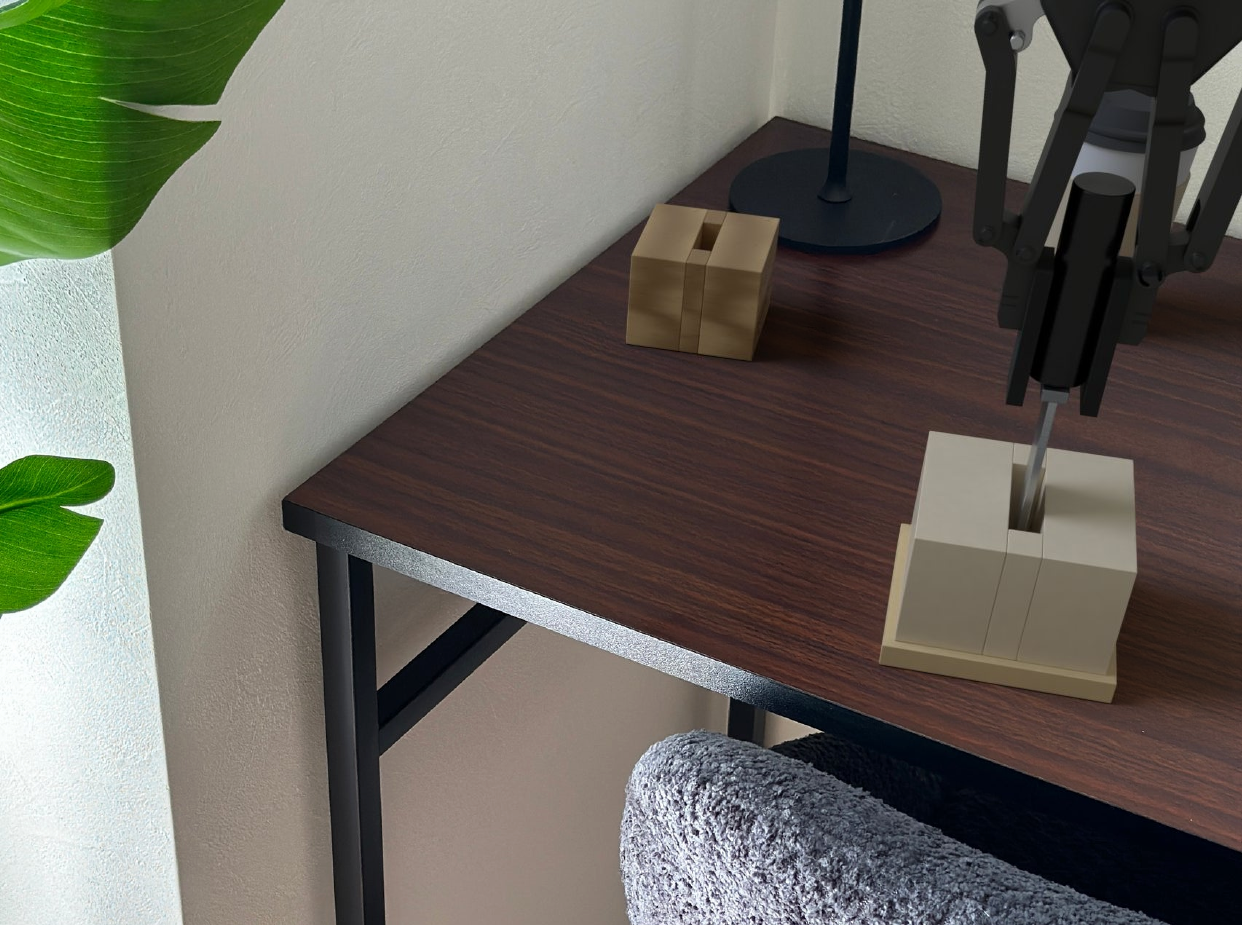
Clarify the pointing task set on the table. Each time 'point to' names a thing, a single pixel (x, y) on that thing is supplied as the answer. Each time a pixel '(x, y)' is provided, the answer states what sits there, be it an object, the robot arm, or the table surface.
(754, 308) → the knife block
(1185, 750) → the table surface
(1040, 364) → the knife
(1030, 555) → the slotted block on base
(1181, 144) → the robot arm
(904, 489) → the table surface
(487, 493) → the table surface
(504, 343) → the table surface
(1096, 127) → the coffee cup
